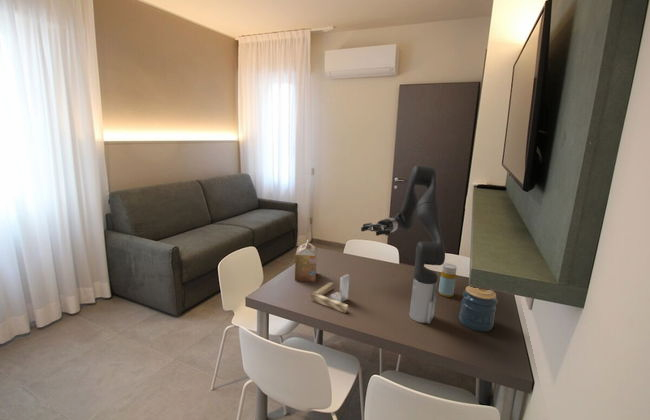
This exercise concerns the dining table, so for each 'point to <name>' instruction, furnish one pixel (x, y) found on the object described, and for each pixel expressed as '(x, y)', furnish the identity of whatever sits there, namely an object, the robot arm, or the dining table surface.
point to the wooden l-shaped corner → (326, 301)
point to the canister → (478, 309)
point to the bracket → (342, 289)
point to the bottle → (447, 280)
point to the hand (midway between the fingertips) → (369, 231)
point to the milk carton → (305, 262)
